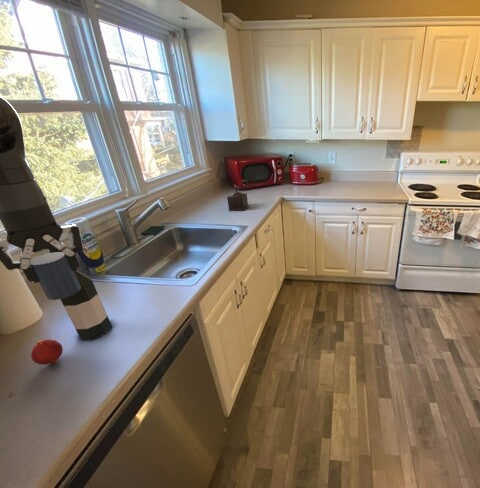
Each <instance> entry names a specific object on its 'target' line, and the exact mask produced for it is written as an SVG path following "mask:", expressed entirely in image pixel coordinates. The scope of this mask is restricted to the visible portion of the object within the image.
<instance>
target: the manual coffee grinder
mask: <svg viewBox="0 0 480 488" xmlns="http://www.w3.org/2000/svg"><path fill="white" fill-rule="evenodd" d="M241 183H242V184H243V185H242V186H237V184H236V183H235V184H234V186H233V187H234V189H235V191H234V192H232V193H231V194H229V195H228V196H227V197H226V200H227V206H228V210H229V211H231V212H232V211H234V212H244V211H245V210H247V209H248V208H249V202H248V193H247V192H240V191H238V189H242V188H246V187H248V184H249V180H248V179H242V181H241Z"/></svg>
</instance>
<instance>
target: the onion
mask: <svg viewBox="0 0 480 488" xmlns="http://www.w3.org/2000/svg"><path fill="white" fill-rule="evenodd" d="M63 351H64V349H63V345H62V344H61V343H60V342H59V341H57V340H53V339H39V340H38V341H37V342H36V345H34V347H32V350H31V353H30V355H31V356H30V358H31V360H32V361H33V363H35V364H37V365H52V364H53V365H54V364H55V363H56V362H57V361H58V360H59V359H60V357H61V356H62V354H63Z"/></svg>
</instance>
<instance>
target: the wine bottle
mask: <svg viewBox="0 0 480 488" xmlns="http://www.w3.org/2000/svg"><path fill="white" fill-rule="evenodd" d="M48 251H49V253H54V252H62V251H60V250H59V249H57V248H56V247H53V248H51V249H48ZM74 273H75V275H76V277H77V279H78V281H79V284H80V286H81V289H80V290H79V291H78V292H77V293H75V294H73V295H71V296H69V297H66V298H63V299H59V300H60V301H61V303H62V306H63V307H64V309H65V311H66V313H67V315H68V318H69V320H70V322H71V323H72V325H73V327H74V329H75V331H76V333H77V335H78V337H79V338H80V340H81V341H93V340H96V339H98V338H99V337H101V336H104V335H106V334H107V333H108V332H109V331H110V330H111V329H112V328H113V325H112V323H111V321H110V318H109V315H108V313H107V312H106V309H105V307H104V304H103V302H102V300H101V297H100V295H99V293H98V291H97V288H96V286H95V284H94V282H93V280H92V278H91V277H90V276H88V275H86V274H84V273H83V272H82V271H79V270H78V269H77V270H76V271H74Z"/></svg>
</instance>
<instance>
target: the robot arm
mask: <svg viewBox="0 0 480 488" xmlns="http://www.w3.org/2000/svg"><path fill="white" fill-rule="evenodd" d="M0 223H1V224H2V226H3V229H4V230H5V232H6V234H7V235H6V238H3V239H0V262H1V264H2V265H3V266H4V267H5V268H6V269H7V270H8V271H13V270H22V272H23V274H24V275H25V277H26V279H27V281H29V283H31V282H33V283H34V284H37V283H39V281H38V279H37V277H36V275H35V273H34V271H33V269H32V267H31V266H30V264H29V263H30V261H31V260H32V255H33V253H34V254H35V253H39V252H41V251H43V250H49V249H51V248H53V247H56V248H57V249H59V250H60V251H62V252H64V253H65V254H66V255H67V258H68V260H69V262H70V264H71V266H72V269H73V271H76V270H77V271H78V268H79V267H80V263H79V261H78V259H77V257H76V254H77V253H78V252H82V251H83V250H84V247H83V242H82V237H81V233H80V227H79V226H78V225H77V224H76V223H70V224H69V225H62V226H61V225H60V224H59V223H57V221H56V218H55V217H54V214H53V212H52V210H51V207H50V205H49V203H48V200H47V196H45V194H44V192H43V190H42V188H41V186H40V185H39V183H38V181H37V180H36V178H35V175H34V173H33V171H32V169H31V166H30V164H29V162H28V160H27V159H26V146H25V138H24V132H23V125H22V120H21V118H20V116H19V114H18V112H17V111H16V109H15V108H14V107H13V106H12V105H11V103H9V102H8V101H7V100H6V99H5V98H3V97H2V96H0ZM64 232H65V233H66V234H67V235H68V236H71V239H72V246H70V247H69V246H68V245H66V244H65V243H64V242H63V241H61V240H60V239H61V237H62V235H63V233H64ZM9 244H10V245H12V246H14V247H17V248H19V249H21V250H20V257H19V260H13V259H12V258H11V256H10V255H9V254H8V253H7V251H8V250H9V248H8V246H9Z"/></svg>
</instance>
